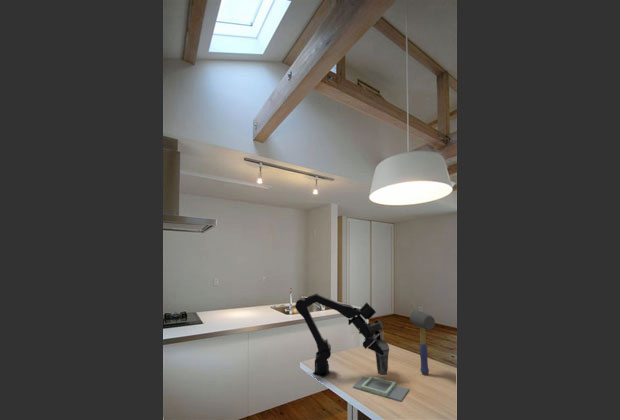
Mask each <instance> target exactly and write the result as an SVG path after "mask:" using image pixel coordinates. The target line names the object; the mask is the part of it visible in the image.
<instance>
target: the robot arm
mask: <svg viewBox="0 0 620 420" xmlns="http://www.w3.org/2000/svg"><path fill="white" fill-rule="evenodd" d="M316 303H317V304H319V305H322V306H324V307H326V308H329V309H331V310H334V311H336V312H338V313H339V314H340V315H342V316H344V317H345V318H347V321H348V326H350V325H351V324H352V325H353V326H354V328H356V329H357V330H358V333H359V335H362V336H363V337H364V341H363V342H362V346H363V348H364V349H365V350H367V349H368V350H371V351H372V352H374V353H375V352H377V353H379V354H381V355H383V354H384V353H383V351H382V350H381V348H380V347H379V345H378V344H377V341H378V340H382V331H383V328H384V326H383V322H382V321H380V320H379V319H375V320H374V323H372V324H371V323H370V322H367V321H366V320H370V319H371V318H372V317H373V316H374V315H375V314H377V311H376V310H375V309H374V308H373V307H372V305H370V304H369V303H368V302H365V303H364V304H363V305H362V306H361V307H360V308H358V307H353V305H351V304H349V303H348V304H346V303H341V302H337V301H335V300H333V299H330V298H327V297H325V296H323V295H320V294H318V293H314V294H311V295H309V296H307V297H306V296H305V298H303V297H300V298H298V299H297V300H296V302H295V307H294V308H295V309H296V311H297V312H298V313H299V315H301V317H302V318H303V320H304V321H305V323H306V326H307V327H308V329H309V331H310V333H311V336H312V338H313V339H314V341H315V343H316V347H317V352H316V353H315V359H314V371H313V372H312V374H313V375H316V376H319V377H322V378H323V377H326V376H327V375H328V374H330V373H331V371H330V364H329V359H330V358H331V355H332V353H331V351H332V346H331V344H330V343H329V340H328V338H326V339H325V338H324V337H323V336H322V334H321V332H320V331H319V328H318V326H317V323H315V320H314V318H313V316H312V315H311V311H310V308H309V307H310V306H312V305H313V304H316Z"/></svg>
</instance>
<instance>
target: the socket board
mask: <svg viewBox="0 0 620 420" xmlns="http://www.w3.org/2000/svg"><path fill="white" fill-rule="evenodd" d="M352 388H353V389H356V390H359V391H362V392H366V393H369V394H373V395H376V396H379V397H382V398H386V399H389V400H393V401H397V402H400V403H401V402H402V401H403V400H404V399H405V397H406V396H407V394H408V392H409V391H410V388H407V387H404V386H400V385H397V383H396V381H393V380H387V379H383V378H382V377H381V378H380V377H376V376H373V375H371V376H369V377H366V376H363V377H362V378H361V379H359V380H358V381H357V382H356V383H354V385H352Z"/></svg>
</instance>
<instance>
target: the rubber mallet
mask: <svg viewBox="0 0 620 420" xmlns="http://www.w3.org/2000/svg"><path fill="white" fill-rule="evenodd" d="M409 321H410V322H411V324H413V325H415V326H417V327H419V335H420V336H419V337H420V338H419V339H420V344H419V357H420V358H419V359H420V373H421V374H422V375H425V376H428V375H429V373H430V370H429V364H428V356H429V353H428V345H427V340H426V337H427V336H426V330H428V331H431V330H432V329H434V327H435V325H436V321H435V319H434V317H433V316H432V315H430V314H427V313H425V312H422V311H417V310H413V311H411V313H410V314H409Z"/></svg>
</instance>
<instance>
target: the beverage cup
mask: <svg viewBox="0 0 620 420" xmlns="http://www.w3.org/2000/svg"><path fill="white" fill-rule="evenodd" d="M381 339H382V340H378V341H377V344H378V345H379V347H380V348H381V350H382V351H383V353H384V354H383V355H381V354H379V353H377V352H375V351H374V353H375V360H376V369H377V374H378V375H380V376H388V368H389V352H390V345H389V344H388V342H387V341H386V340H385V339H384V330H382V332H381Z"/></svg>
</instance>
